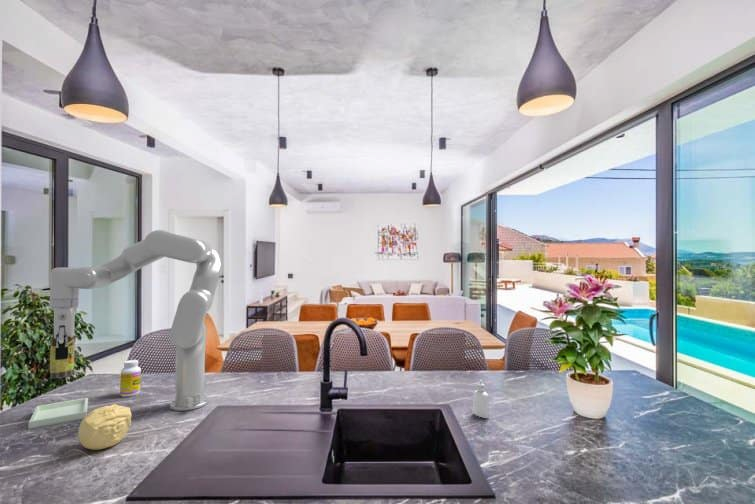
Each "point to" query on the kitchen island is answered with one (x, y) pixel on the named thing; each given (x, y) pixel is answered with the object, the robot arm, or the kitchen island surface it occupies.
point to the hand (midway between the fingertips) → (62, 356)
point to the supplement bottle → (130, 379)
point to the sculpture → (104, 427)
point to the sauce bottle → (62, 360)
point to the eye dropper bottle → (481, 401)
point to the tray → (59, 413)
